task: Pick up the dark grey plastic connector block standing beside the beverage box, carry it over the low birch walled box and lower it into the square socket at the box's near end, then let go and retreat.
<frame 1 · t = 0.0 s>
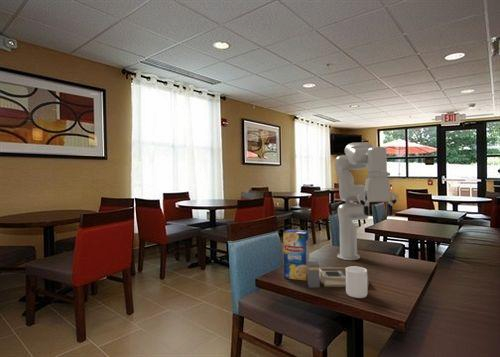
hand: (377, 215, 127), 31 cm above the table, tool pointing down, fingers open, 9 cm apart
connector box: (342, 281, 135), on the table
connector: (313, 285, 131), on the table
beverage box: (296, 277, 142), on the table
mug: (356, 293, 122), on the table
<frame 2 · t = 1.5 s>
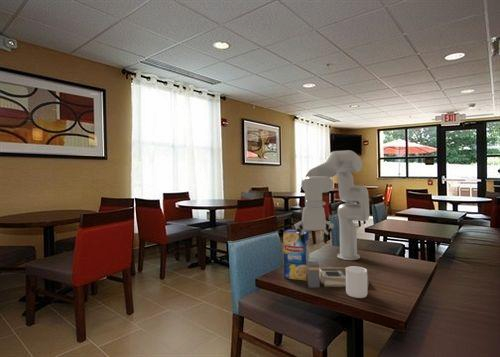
hand: (314, 243, 130), 19 cm above the table, tool pointing down, fingers open, 9 cm apart
nothing on the table moved.
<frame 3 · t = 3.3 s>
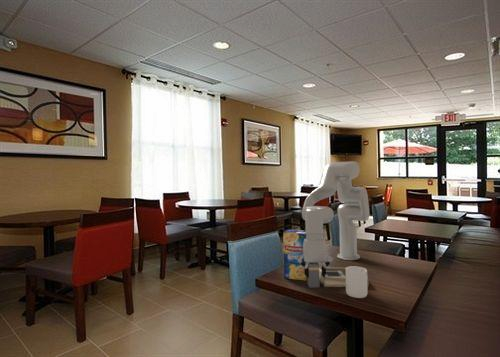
hand: (315, 276, 131), 4 cm above the table, tool pointing down, fingers open, 6 cm apart
nothing on the table moved.
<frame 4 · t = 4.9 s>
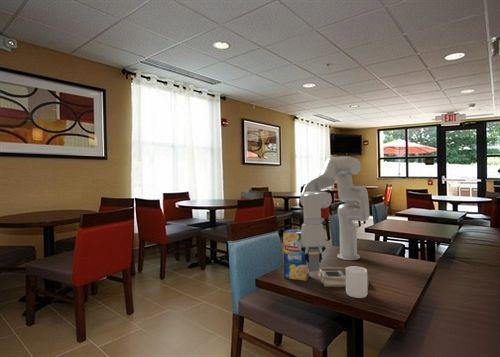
hand: (313, 261, 131), 11 cm above the table, tool pointing down, fingers closed on connector, 4 cm apart
connector: (313, 269, 132), point 7 cm above the table, touching gripper
everything else where it was.
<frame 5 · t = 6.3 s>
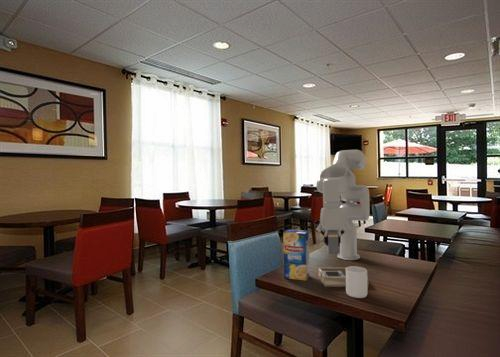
hand: (332, 244, 135), 17 cm above the table, tool pointing down, fingers closed on connector, 4 cm apart
connector: (332, 252, 136), point 13 cm above the table, touching gripper
everything else where it was.
when the fingers open (5 cm above the table, at t = 9.0 s): connector stays where it is, resting on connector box.
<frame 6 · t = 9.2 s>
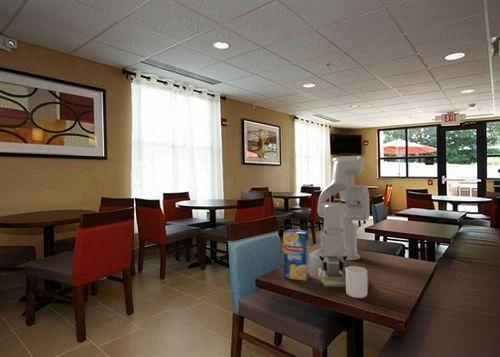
hand: (333, 269, 135), 5 cm above the table, tool pointing down, fingers open, 6 cm apart
connector: (333, 278, 136), point 1 cm above the table, touching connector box
everything else where it was.
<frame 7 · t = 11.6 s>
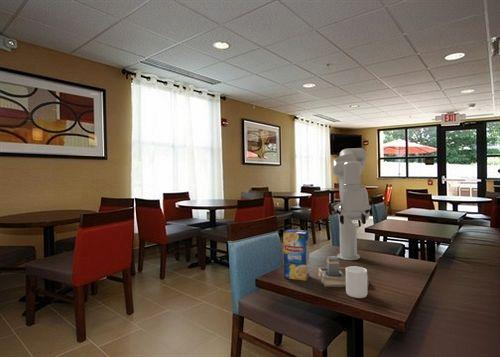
hand: (352, 223, 140), 26 cm above the table, tool pointing down, fingers open, 9 cm apart
nothing on the table moved.
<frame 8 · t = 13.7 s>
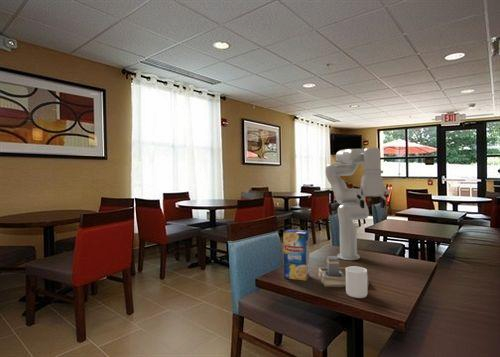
hand: (372, 207, 144), 32 cm above the table, tool pointing down, fingers open, 9 cm apart
nothing on the table moved.
at the end: connector 0.5 cm from the target spot on the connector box, point 0.9 cm above the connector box's base; connector tilted 0°; the gripper is holding nothing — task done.
